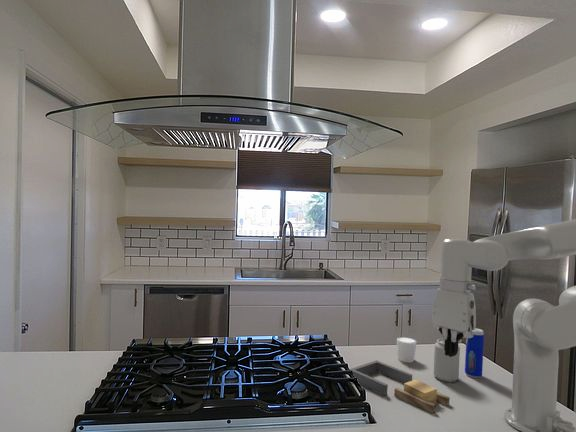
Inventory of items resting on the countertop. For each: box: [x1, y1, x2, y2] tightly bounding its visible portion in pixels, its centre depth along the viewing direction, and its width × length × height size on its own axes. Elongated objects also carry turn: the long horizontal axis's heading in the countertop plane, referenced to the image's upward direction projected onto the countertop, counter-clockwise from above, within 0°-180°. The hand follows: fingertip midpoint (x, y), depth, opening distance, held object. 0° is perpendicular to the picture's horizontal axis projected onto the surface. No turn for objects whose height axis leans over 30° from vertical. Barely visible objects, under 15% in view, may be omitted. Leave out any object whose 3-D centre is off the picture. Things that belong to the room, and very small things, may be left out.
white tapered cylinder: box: [396, 336, 418, 363], centre depth 142 cm, size 7×7×7 cm
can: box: [433, 337, 461, 383], centre depth 127 cm, size 8×8×12 cm
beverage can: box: [464, 327, 485, 379], centre depth 130 cm, size 5×5×15 cm
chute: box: [393, 387, 451, 414], centre depth 112 cm, size 12×8×2 cm
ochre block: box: [403, 379, 438, 404], centre depth 112 cm, size 7×5×4 cm
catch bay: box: [348, 360, 413, 397], centre depth 123 cm, size 14×13×3 cm
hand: (450, 354), depth 105 cm, fingers closed
